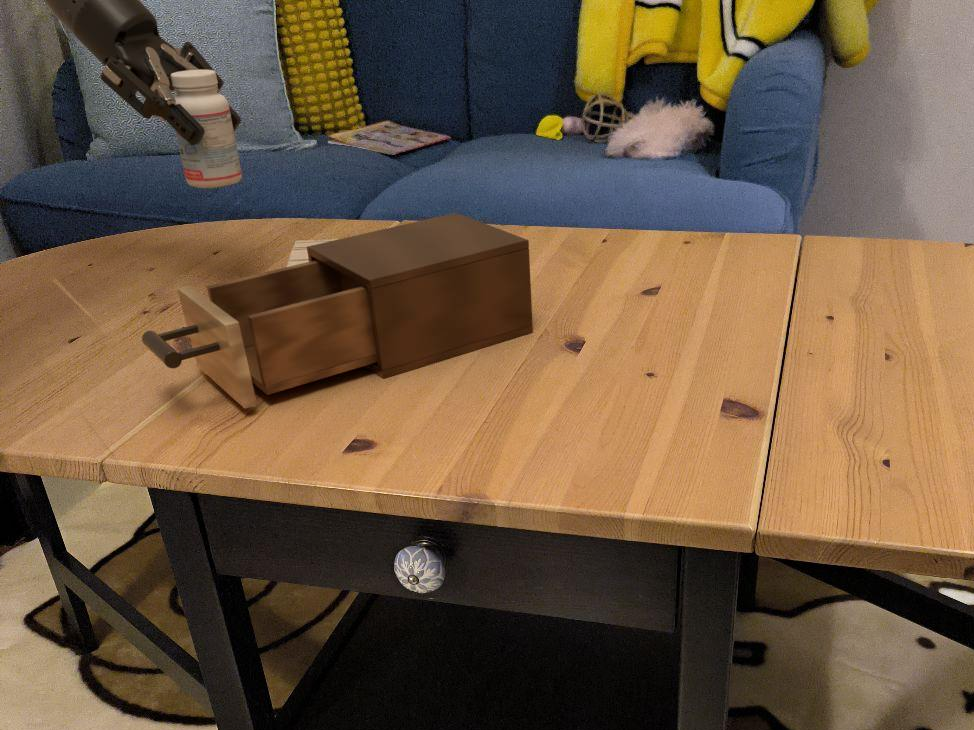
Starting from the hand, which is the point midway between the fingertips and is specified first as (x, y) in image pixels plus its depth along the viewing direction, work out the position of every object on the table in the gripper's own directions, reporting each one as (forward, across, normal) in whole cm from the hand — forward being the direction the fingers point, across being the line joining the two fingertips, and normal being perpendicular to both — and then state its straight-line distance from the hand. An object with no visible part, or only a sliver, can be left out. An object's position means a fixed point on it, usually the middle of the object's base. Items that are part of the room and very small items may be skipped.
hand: (218, 132), depth 105 cm
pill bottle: (+3, 0, +5) cm, 6 cm away
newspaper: (+20, +14, +5) cm, 24 cm away
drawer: (+24, -21, 0) cm, 32 cm away
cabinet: (+31, -8, -6) cm, 33 cm away
